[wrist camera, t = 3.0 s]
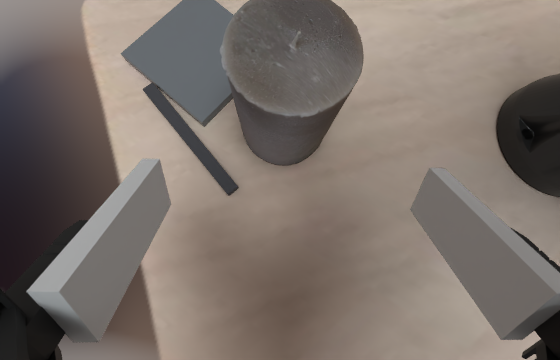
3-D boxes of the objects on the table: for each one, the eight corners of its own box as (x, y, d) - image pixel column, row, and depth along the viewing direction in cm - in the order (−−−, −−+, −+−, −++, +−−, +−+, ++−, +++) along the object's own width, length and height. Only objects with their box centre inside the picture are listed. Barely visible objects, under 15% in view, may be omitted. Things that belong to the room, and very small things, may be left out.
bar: (157, 89, 30) (152, 82, 29) (239, 188, 29) (237, 186, 27) (148, 95, 30) (142, 89, 29) (229, 196, 28) (227, 194, 27)
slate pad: (200, -5, 33) (198, -13, 31) (275, 55, 32) (275, 48, 30) (126, 60, 30) (120, 53, 29) (204, 126, 29) (201, 122, 28)
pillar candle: (306, 82, 31) (339, -47, 16) (333, 153, 30) (398, 80, 15) (232, 103, 30) (196, -14, 15) (256, 178, 29) (242, 126, 14)
